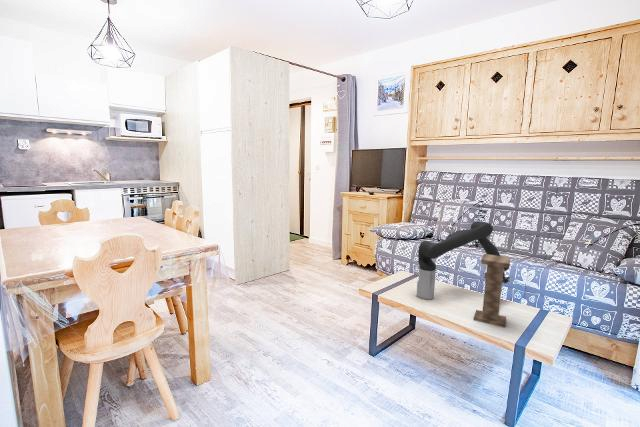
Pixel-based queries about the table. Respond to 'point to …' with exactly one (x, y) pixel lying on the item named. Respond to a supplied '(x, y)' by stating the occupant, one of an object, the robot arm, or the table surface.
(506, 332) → the table surface
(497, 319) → the tall stand
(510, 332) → the table surface
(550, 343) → the table surface
